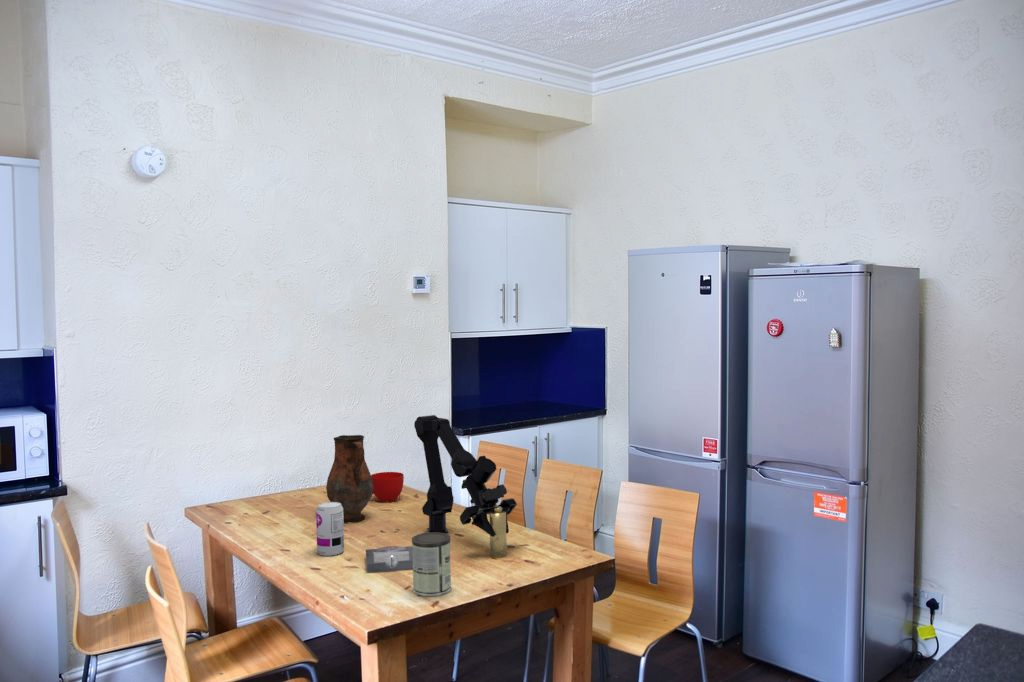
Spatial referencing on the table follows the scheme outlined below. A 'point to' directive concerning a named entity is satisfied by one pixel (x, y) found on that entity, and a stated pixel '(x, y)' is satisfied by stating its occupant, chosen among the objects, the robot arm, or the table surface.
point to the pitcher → (350, 477)
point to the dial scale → (389, 559)
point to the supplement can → (330, 528)
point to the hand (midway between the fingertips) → (500, 534)
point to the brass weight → (498, 532)
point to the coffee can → (431, 564)
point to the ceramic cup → (387, 485)
